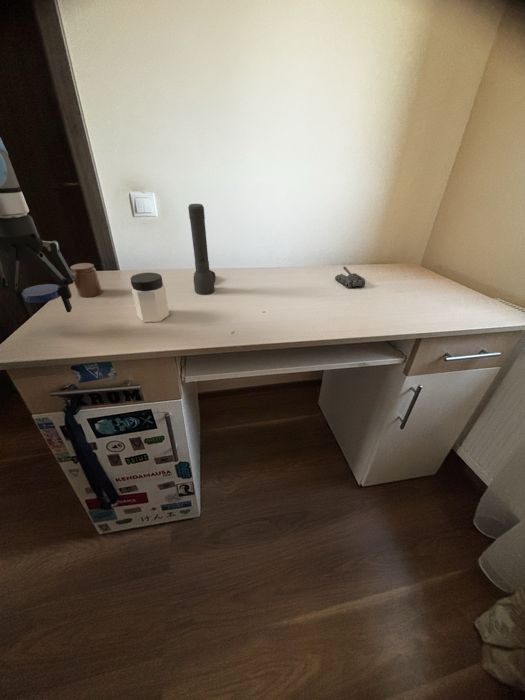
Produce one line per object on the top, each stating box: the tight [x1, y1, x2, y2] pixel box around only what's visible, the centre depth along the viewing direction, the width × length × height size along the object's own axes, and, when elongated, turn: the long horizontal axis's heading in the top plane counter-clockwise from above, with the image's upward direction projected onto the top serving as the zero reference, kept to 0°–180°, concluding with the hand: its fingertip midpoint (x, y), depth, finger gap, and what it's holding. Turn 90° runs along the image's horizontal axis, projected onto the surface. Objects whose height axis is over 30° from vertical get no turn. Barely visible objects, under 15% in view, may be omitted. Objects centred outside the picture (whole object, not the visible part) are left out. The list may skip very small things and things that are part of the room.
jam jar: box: [69, 262, 103, 298], centre depth 94 cm, size 7×7×9 cm
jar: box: [130, 272, 170, 323], centre depth 81 cm, size 9×8×12 cm
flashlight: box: [187, 203, 215, 296], centre depth 93 cm, size 7×28×7 cm
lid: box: [21, 283, 61, 304], centre depth 69 cm, size 8×8×2 cm
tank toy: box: [334, 266, 366, 289], centre depth 113 cm, size 12×10×5 cm
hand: (50, 312), depth 72 cm, fingers closed on lid, 8 cm apart
